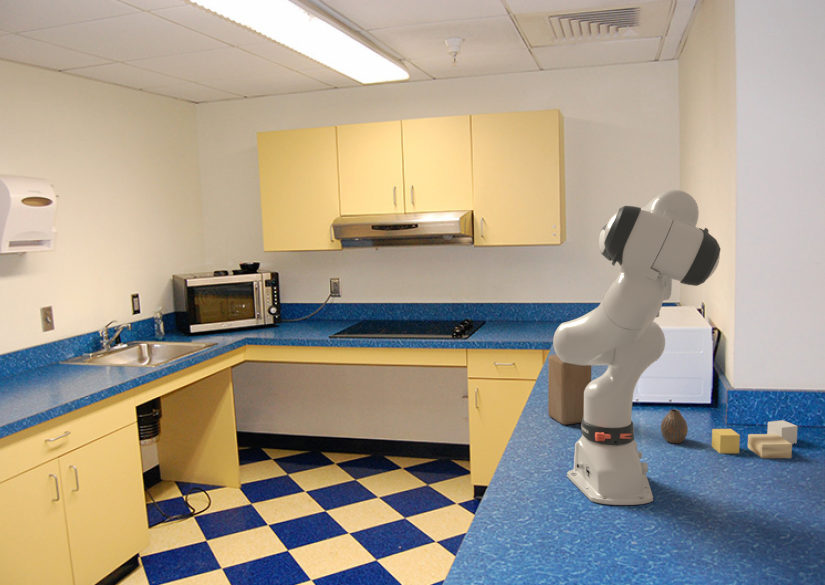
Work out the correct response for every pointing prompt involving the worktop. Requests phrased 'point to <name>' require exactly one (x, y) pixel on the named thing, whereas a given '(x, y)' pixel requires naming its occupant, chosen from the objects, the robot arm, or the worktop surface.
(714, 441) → the ochre cube
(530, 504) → the worktop surface
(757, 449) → the maple base
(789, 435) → the grey cube
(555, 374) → the block
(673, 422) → the vase
